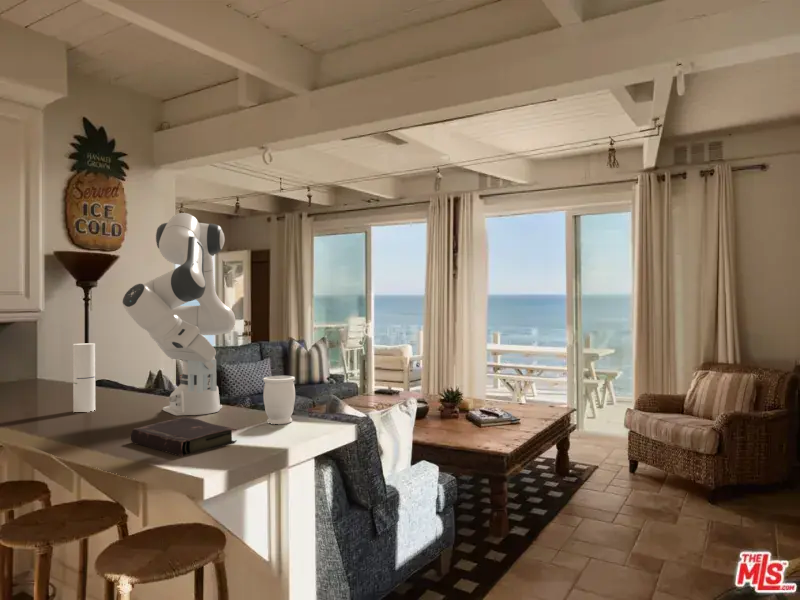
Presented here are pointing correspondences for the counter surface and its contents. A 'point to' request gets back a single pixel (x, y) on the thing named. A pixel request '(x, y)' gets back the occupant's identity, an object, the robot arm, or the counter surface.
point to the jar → (279, 398)
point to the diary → (183, 435)
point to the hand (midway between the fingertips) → (204, 366)
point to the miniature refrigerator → (84, 377)
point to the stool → (201, 376)
